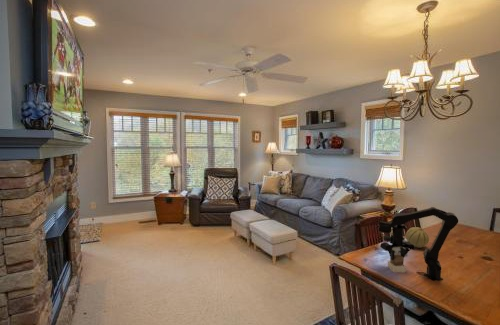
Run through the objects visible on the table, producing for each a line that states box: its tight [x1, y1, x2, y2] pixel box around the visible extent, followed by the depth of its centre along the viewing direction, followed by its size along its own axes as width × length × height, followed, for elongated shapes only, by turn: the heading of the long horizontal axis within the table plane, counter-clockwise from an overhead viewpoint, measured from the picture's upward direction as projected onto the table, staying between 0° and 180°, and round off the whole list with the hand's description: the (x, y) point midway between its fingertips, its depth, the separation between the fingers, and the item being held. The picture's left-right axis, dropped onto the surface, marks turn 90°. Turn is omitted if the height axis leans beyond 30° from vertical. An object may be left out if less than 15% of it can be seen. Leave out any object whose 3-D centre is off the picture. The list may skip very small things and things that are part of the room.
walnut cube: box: [389, 253, 405, 266], centre depth 155 cm, size 5×5×5 cm
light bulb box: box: [393, 238, 408, 256], centre depth 180 cm, size 11×7×11 cm, turn 168°
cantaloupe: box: [405, 226, 430, 249], centre depth 188 cm, size 15×15×15 cm
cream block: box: [387, 260, 407, 273], centre depth 155 cm, size 7×7×4 cm
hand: (396, 259), depth 155 cm, fingers open, 6 cm apart
